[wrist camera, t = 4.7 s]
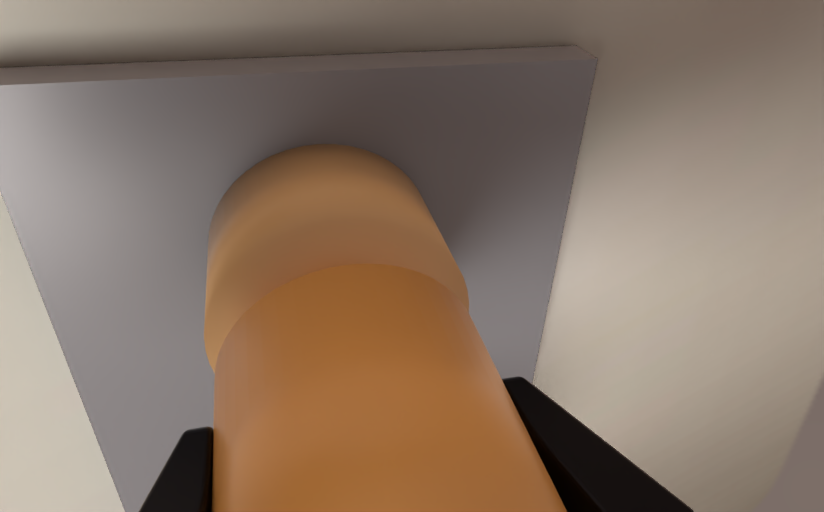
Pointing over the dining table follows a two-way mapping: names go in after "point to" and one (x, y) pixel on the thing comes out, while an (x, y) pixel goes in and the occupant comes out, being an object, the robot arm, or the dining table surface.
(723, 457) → the dining table surface
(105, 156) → the junction plate
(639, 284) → the dining table surface
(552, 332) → the dining table surface
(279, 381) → the orange capsule
